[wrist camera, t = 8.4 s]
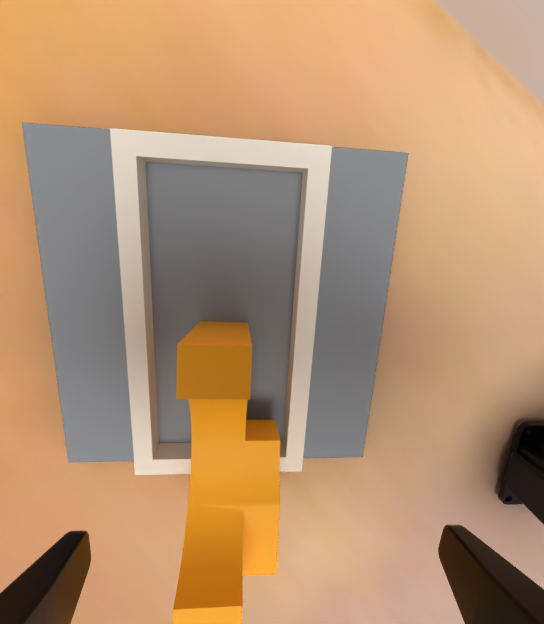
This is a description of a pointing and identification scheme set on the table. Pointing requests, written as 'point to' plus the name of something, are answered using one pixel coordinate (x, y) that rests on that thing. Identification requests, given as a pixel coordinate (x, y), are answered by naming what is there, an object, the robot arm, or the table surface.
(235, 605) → the pipe clamp
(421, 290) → the table surface
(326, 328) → the jig board
